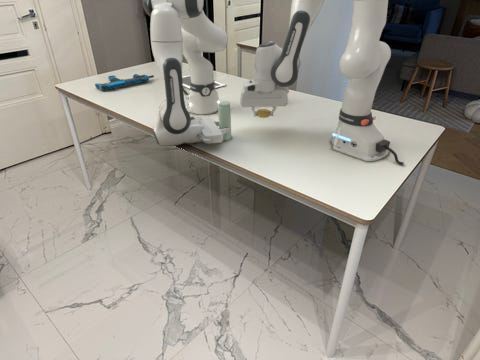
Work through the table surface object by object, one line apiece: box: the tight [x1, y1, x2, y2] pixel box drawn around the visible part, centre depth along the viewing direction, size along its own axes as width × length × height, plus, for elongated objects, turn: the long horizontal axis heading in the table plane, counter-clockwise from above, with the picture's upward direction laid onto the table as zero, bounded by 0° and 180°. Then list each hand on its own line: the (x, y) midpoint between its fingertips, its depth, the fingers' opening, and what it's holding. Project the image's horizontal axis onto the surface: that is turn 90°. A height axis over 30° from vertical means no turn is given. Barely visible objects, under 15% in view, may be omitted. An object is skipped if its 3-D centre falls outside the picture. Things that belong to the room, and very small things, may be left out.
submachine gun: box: [94, 73, 155, 91], centre depth 208 cm, size 34×4×25 cm
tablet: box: [182, 74, 227, 90], centre depth 208 cm, size 32×20×1 cm, turn 41°
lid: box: [256, 108, 271, 119], centre depth 147 cm, size 6×6×2 cm
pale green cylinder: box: [217, 100, 232, 141], centre depth 140 cm, size 5×5×16 cm
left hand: (227, 126), depth 142 cm, fingers closed on pale green cylinder, 5 cm apart
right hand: (263, 115), depth 148 cm, fingers closed on lid, 6 cm apart
